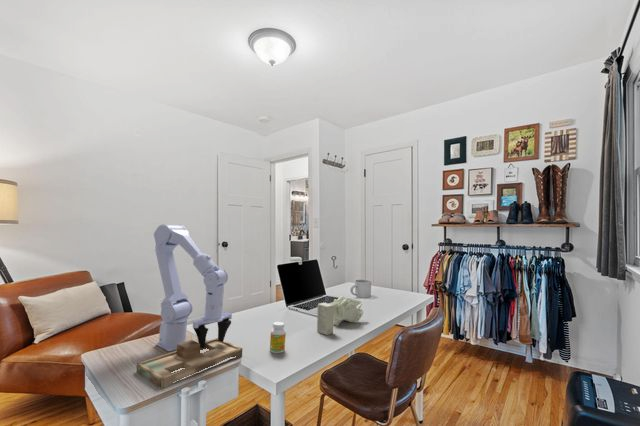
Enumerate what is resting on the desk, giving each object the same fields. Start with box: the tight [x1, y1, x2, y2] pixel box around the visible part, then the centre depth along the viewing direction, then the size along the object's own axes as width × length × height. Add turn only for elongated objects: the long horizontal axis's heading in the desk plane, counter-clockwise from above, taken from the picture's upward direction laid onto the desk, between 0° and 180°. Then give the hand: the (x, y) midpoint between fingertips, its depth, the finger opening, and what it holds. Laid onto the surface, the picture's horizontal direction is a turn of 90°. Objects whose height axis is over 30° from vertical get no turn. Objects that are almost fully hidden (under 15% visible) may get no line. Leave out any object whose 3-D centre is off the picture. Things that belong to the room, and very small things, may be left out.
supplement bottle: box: [269, 321, 287, 354], centre depth 111 cm, size 5×5×10 cm
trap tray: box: [135, 337, 244, 389], centre depth 97 cm, size 14×28×3 cm, turn 145°
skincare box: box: [316, 302, 334, 336], centre depth 133 cm, size 6×4×12 cm
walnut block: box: [176, 339, 200, 359], centre depth 99 cm, size 5×5×4 cm
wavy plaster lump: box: [331, 295, 364, 327], centre depth 148 cm, size 18×13×16 cm
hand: (211, 343), depth 106 cm, fingers open, 7 cm apart
